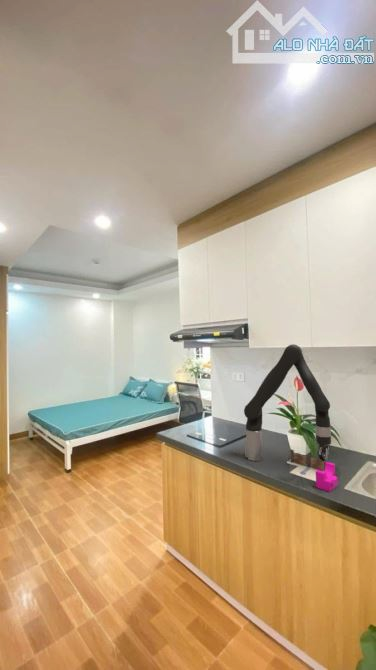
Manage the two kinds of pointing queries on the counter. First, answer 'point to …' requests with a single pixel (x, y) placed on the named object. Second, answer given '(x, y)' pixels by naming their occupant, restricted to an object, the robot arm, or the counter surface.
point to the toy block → (326, 477)
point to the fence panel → (318, 464)
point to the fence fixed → (300, 459)
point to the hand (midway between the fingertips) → (324, 466)
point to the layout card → (303, 471)
